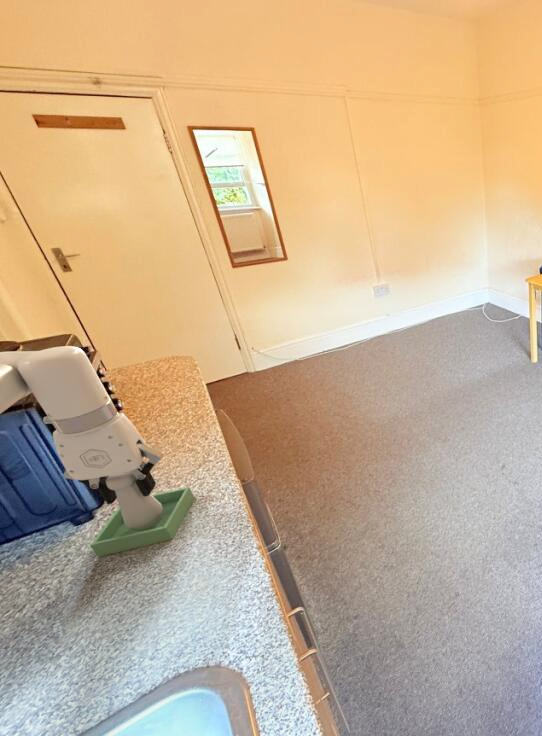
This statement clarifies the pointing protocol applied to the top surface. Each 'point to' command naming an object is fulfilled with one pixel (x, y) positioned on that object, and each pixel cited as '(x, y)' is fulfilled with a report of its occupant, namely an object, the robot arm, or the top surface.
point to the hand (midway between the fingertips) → (132, 494)
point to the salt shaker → (134, 502)
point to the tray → (125, 538)
